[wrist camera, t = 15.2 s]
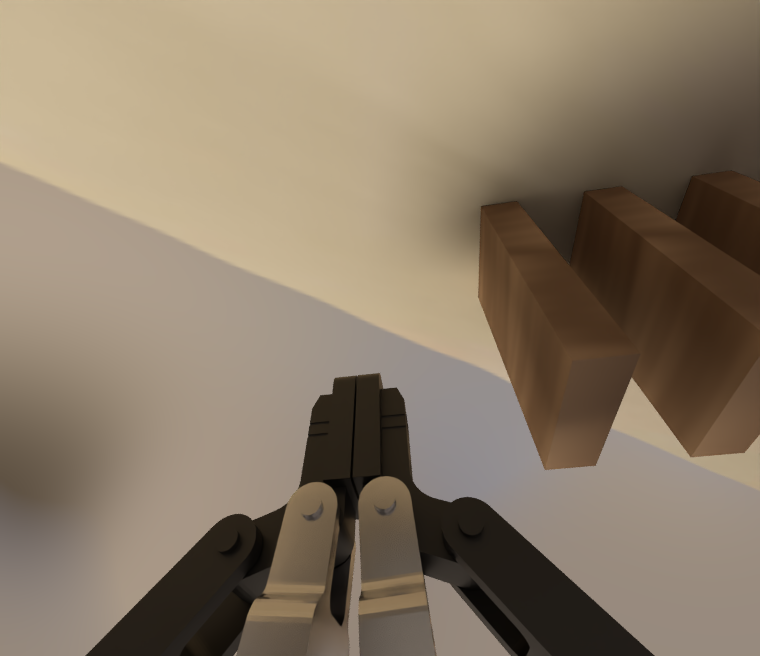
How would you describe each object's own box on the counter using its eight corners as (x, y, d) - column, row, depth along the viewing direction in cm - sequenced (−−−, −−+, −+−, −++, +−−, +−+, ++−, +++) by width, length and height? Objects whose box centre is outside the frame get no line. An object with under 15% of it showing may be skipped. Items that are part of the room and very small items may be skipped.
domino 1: (478, 297, 20) (545, 469, 12) (480, 206, 17) (572, 360, 9) (508, 293, 20) (595, 465, 12) (517, 201, 17) (641, 353, 9)
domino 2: (565, 286, 20) (690, 457, 12) (584, 191, 17) (771, 339, 9) (597, 282, 20) (744, 452, 12) (622, 186, 16) (845, 330, 9)
